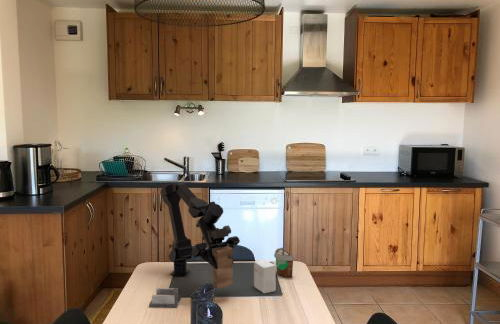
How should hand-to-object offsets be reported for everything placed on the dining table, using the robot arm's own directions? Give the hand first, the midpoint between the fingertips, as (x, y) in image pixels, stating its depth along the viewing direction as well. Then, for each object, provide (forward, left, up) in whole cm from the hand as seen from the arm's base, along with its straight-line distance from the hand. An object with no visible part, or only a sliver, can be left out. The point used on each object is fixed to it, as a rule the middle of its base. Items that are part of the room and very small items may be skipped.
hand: (225, 266), depth 151 cm
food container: (-32, +16, -14) cm, 38 cm away
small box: (-15, +12, -14) cm, 23 cm away
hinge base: (+6, -21, -13) cm, 26 cm away
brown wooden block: (-1, -1, -8) cm, 8 cm away
